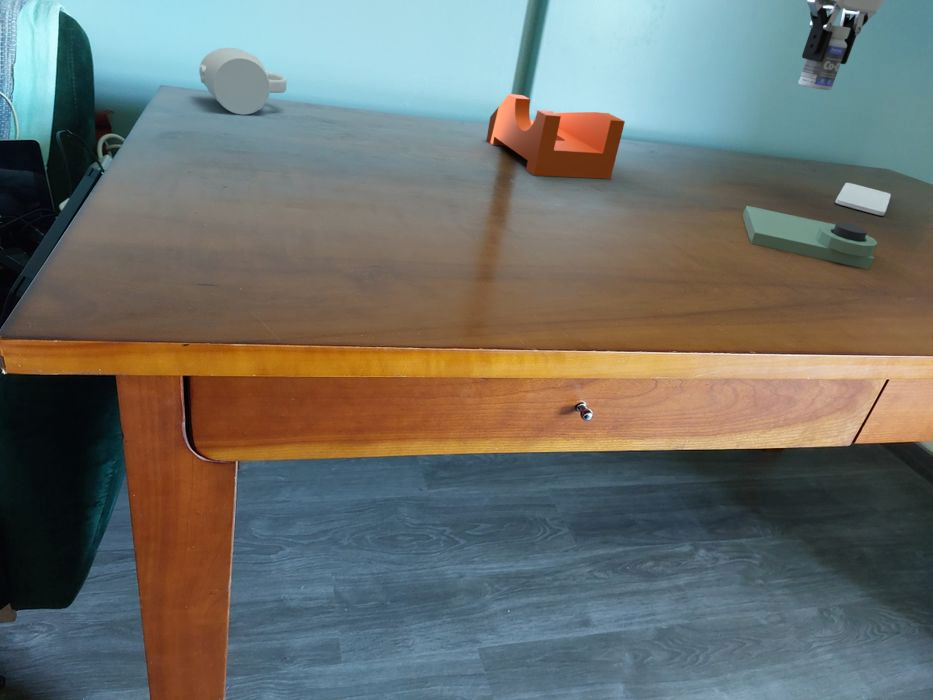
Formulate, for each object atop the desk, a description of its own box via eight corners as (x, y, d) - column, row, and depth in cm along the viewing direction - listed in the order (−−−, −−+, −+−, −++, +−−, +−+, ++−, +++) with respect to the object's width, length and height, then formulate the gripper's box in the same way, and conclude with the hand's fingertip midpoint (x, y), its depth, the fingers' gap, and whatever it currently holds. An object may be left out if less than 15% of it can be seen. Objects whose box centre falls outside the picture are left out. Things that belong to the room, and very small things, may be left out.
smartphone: (835, 199, 114) (845, 182, 126) (833, 203, 114) (844, 186, 126) (885, 212, 111) (891, 193, 123) (883, 217, 111) (889, 198, 123)
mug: (208, 113, 105) (206, 54, 102) (200, 98, 113) (198, 42, 109) (291, 117, 110) (293, 62, 107) (278, 102, 118) (279, 50, 114)
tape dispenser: (610, 178, 107) (624, 121, 103) (533, 175, 102) (545, 115, 98) (556, 144, 121) (566, 92, 117) (486, 140, 117) (495, 86, 113)
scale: (849, 239, 98) (858, 218, 97) (872, 273, 87) (883, 249, 86) (742, 216, 100) (749, 195, 99) (751, 246, 89) (759, 223, 88)
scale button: (859, 236, 90) (863, 226, 90) (866, 245, 87) (870, 235, 87) (829, 230, 91) (833, 219, 90) (835, 239, 88) (839, 228, 87)
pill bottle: (820, 90, 104) (842, 26, 100) (791, 83, 108) (812, 21, 104) (837, 90, 107) (860, 29, 103) (808, 83, 110) (829, 23, 106)
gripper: (862, -94, 90) (808, 62, 99) (936, -72, 98) (880, 69, 107) (811, -96, 95) (764, 52, 104) (885, -76, 104) (836, 60, 113)
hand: (824, 59), depth 106 cm, fingers closed on pill bottle, 4 cm apart
